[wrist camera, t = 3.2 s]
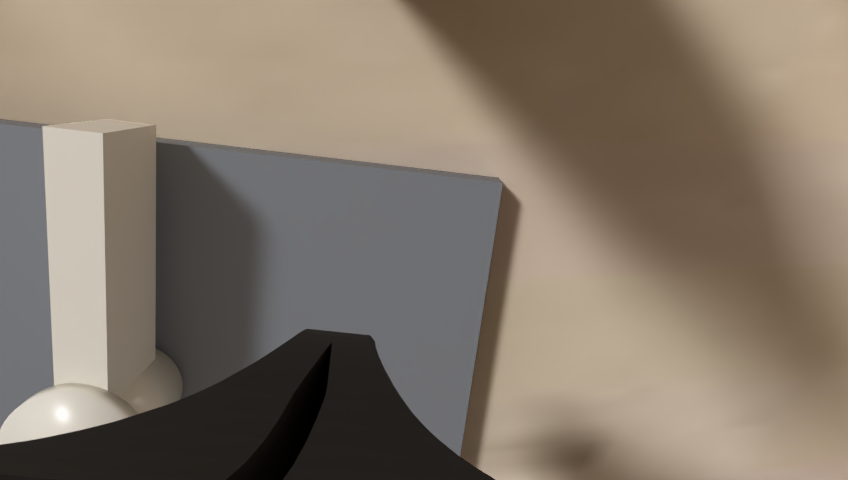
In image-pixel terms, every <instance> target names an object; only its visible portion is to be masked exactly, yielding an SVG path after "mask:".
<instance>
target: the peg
mask: <svg viewBox="0 0 848 480" xmlns="http://www.w3.org/2000/svg"><path fill="white" fill-rule="evenodd" d="M42 129H43V151H44V173H45V196H46V218H47V240H48V262H49V284H50V306H51V328H52V350H53V372H54V386H51V387H48V388H45V389H43V390H41V391H39V392H37V393H35V394H34V395H33V396H31V397H30V398H29V399H27V400H26V401H25V402H24V403H22V404H21V405H20V406H19V407H18V408H16V409H15V410H14V411H13V412H12V413H11V414H10V415H9V416H8V417H7V419H6V420H5V421H4V423H3V425H2V427H1V429H0V445H2V444H9V443H15V442H22V441H29V440H34V439H40V438H45V437H51V436H55V435H60V434H65V433H69V432H74V431H79V430H83V429H87V428H91V427H95V426H99V425H103V424H107V423H111V422H115V421H118V420H121V419H124V418H128V417H131V416H134V415H137V414H140V413H143V412H146V411H149V410H152V409H156V408H159V407H162V406H165V405H168V404H170V403H173V402H176V401H178V400H180V398H181V396H182V391H183V381H182V377H181V374H180V371H179V369H178V367H177V366H176V364H175V363H174V362H173V361H172V359H171V358H169V357H168V356H167V355H166V354H165V353H163V352H162V351H160V350H158V349H156V348H155V314H156V125H154V124H145V123H137V122H129V121H120V120H112V119H101V120H92V121H83V122H75V123H66V124H57V125H48V126H42Z"/></svg>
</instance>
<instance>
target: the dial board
mask: <svg viewBox="0 0 848 480" xmlns="http://www.w3.org/2000/svg"><path fill="white" fill-rule="evenodd" d="M42 126H48V125H45V124H37V123H28V122H20V121H11V120H3V119H0V429H1V427H2V425H3V423H4V421H5V420H6V419H7V417H8V416H9V415H10V414H11V413H12V412H13V411H14V410H15V409H16V408H18V407H19V406H20V405H21V404H22V403H24V402H25V401H26V400H27V399H29V398H30V397H31V396H33V395H34V394H35V393H37V392H39V391H41V390H43V389H45V388H48V387H51V386H54V372H53V350H52V328H51V306H50V284H49V262H48V240H47V218H46V196H45V173H44V151H43V129H42ZM502 186H503V182H502V181H501V180H500V179H499V178H495V177H487V176H478V175H470V174H461V173H453V172H444V171H436V170H427V169H419V168H410V167H402V166H393V165H385V164H376V163H368V162H359V161H351V160H342V159H334V158H325V157H317V156H308V155H300V154H291V153H283V152H274V151H266V150H258V149H249V148H241V147H232V146H224V145H215V144H207V143H198V142H190V141H181V140H173V139H164V138H156V314H155V348H156V349H158V350H160V351H162V352H163V353H165V354H166V355H167V356H168V357H169V358H171V359H172V361H173V362H174V363H175V364H176V366H177V367H178V369H179V371H180V374H181V377H182V381H183V391H182V396H181V398H180V399H183V398H185V397H188V396H190V395H192V394H195V393H197V392H200V391H202V390H204V389H206V388H208V387H210V386H212V385H214V384H216V383H218V382H221V381H222V380H224V379H226V378H228V377H230V376H231V375H233V374H235V373H237V372H238V371H240V370H242V369H244V368H246V367H247V366H249V365H251V364H253V363H254V362H256V361H258V360H259V359H261V358H262V357H264V356H266V355H267V354H269V353H270V352H272V351H273V350H275V349H276V348H278V347H279V346H281V345H282V344H284V343H285V342H287V341H288V340H290V339H291V338H293V337H294V336H295V335H297V334H298V333H300V332H301V331H303V330H305V329H315V330H324V331H334V332H344V333H353V334H363V335H370V336H371V337H372V338H373V339H374V341H375V345H376V349H377V352H378V355H379V358H380V360H381V362H382V364H383V367H384V369H385V371H386V372H387V374H388V376H389V378H390V380H391V381H392V383H393V385H394V387H395V388H396V390H397V391H398V393H399V395H400V396H401V398H402V399H403V400H404V402H405V403H406V405H407V406H408V407H409V409H410V410H411V411H412V413H413V414H414V415H415V416H416V417H417V418H418V420H419V421H420V422H421V423H422V424H423V425H424V426H425V427H426V428H427V429H428V430H429V431H430V432H431V433H432V434H433V435H434V436H435V437H436V438H438V439H439V440H440V441H441V442H442V443H444V444H445V445H446V446H447V447H448V448H450V449H451V450H452V451H453V452H455V453H456V454H457V455H458V456H460V454H461V448H462V442H463V435H464V429H465V423H466V416H467V410H468V403H469V397H470V391H471V384H472V378H473V371H474V365H475V359H476V352H477V346H478V339H479V333H480V327H481V320H482V314H483V307H484V301H485V295H486V288H487V282H488V276H489V269H490V263H491V256H492V250H493V244H494V237H495V231H496V224H497V218H498V212H499V205H500V199H501V192H502Z"/></svg>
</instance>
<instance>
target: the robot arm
mask: <svg viewBox="0 0 848 480" xmlns="http://www.w3.org/2000/svg"><path fill="white" fill-rule="evenodd" d="M0 480H495V479H493V478H492V477H490V476H489V475H487V474H485V473H484V472H482V471H480V470H479V469H477V468H476V467H474V466H473V465H471V464H470V463H468V462H467V461H465V460H464V459H463V458H461V457H460V456H458V455H457V454H456V453H455V452H453V451H452V450H451V449H450V448H448V447H447V446H446V445H445V444H444V443H442V442H441V441H440V440H439V439H438V438H436V437H435V436H434V435H433V434H432V433H431V432H430V431H429V430H428V429H427V428H426V427H425V426H424V425H423V424H422V423H421V422H420V421H419V420H418V418H417V417H416V416H415V415H414V414H413V413H412V411H411V410H410V409H409V407H408V406H407V405H406V403H405V402H404V400H403V399H402V398H401V396H400V395H399V393H398V391H397V390H396V388H395V387H394V385H393V383H392V381H391V380H390V378H389V376H388V374H387V372H386V371H385V369H384V367H383V364H382V362H381V360H380V358H379V355H378V352H377V349H376V345H375V341H374V339H373V338H372V337H371V336H370V335H363V334H353V333H344V332H334V331H324V330H315V329H305V330H303V331H301V332H300V333H298V334H297V335H295V336H294V337H293V338H291V339H290V340H288V341H287V342H285V343H284V344H282V345H281V346H279V347H278V348H276V349H275V350H273V351H272V352H270V353H269V354H267V355H266V356H264V357H262V358H261V359H259V360H258V361H256V362H254V363H253V364H251V365H249V366H247V367H246V368H244V369H242V370H240V371H238V372H237V373H235V374H233V375H231V376H230V377H228V378H226V379H224V380H222V381H221V382H218V383H216V384H214V385H212V386H210V387H208V388H206V389H204V390H202V391H200V392H197V393H195V394H192V395H190V396H188V397H185V398H183V399H180V400H178V401H176V402H173V403H170V404H168V405H165V406H162V407H159V408H156V409H152V410H149V411H146V412H143V413H140V414H137V415H134V416H131V417H128V418H124V419H121V420H118V421H115V422H111V423H107V424H103V425H99V426H95V427H91V428H87V429H83V430H79V431H74V432H69V433H65V434H60V435H55V436H51V437H45V438H40V439H34V440H29V441H22V442H15V443H9V444H2V445H0Z"/></svg>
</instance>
